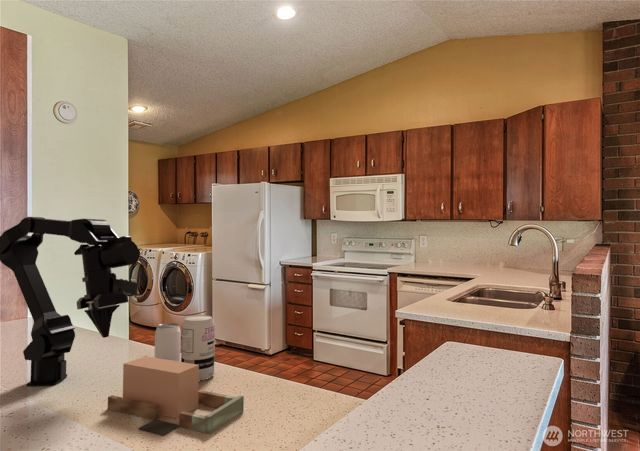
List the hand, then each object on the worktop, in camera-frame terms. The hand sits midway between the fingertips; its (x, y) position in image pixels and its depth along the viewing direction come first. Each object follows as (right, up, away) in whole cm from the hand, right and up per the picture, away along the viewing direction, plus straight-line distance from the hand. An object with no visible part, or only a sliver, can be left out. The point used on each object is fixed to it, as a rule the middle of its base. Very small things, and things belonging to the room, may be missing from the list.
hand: (105, 337), depth 97 cm
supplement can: (+19, -13, +9) cm, 24 cm away
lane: (+20, -12, -11) cm, 26 cm away
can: (+9, -13, +14) cm, 21 cm away
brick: (+17, -12, -10) cm, 23 cm away
